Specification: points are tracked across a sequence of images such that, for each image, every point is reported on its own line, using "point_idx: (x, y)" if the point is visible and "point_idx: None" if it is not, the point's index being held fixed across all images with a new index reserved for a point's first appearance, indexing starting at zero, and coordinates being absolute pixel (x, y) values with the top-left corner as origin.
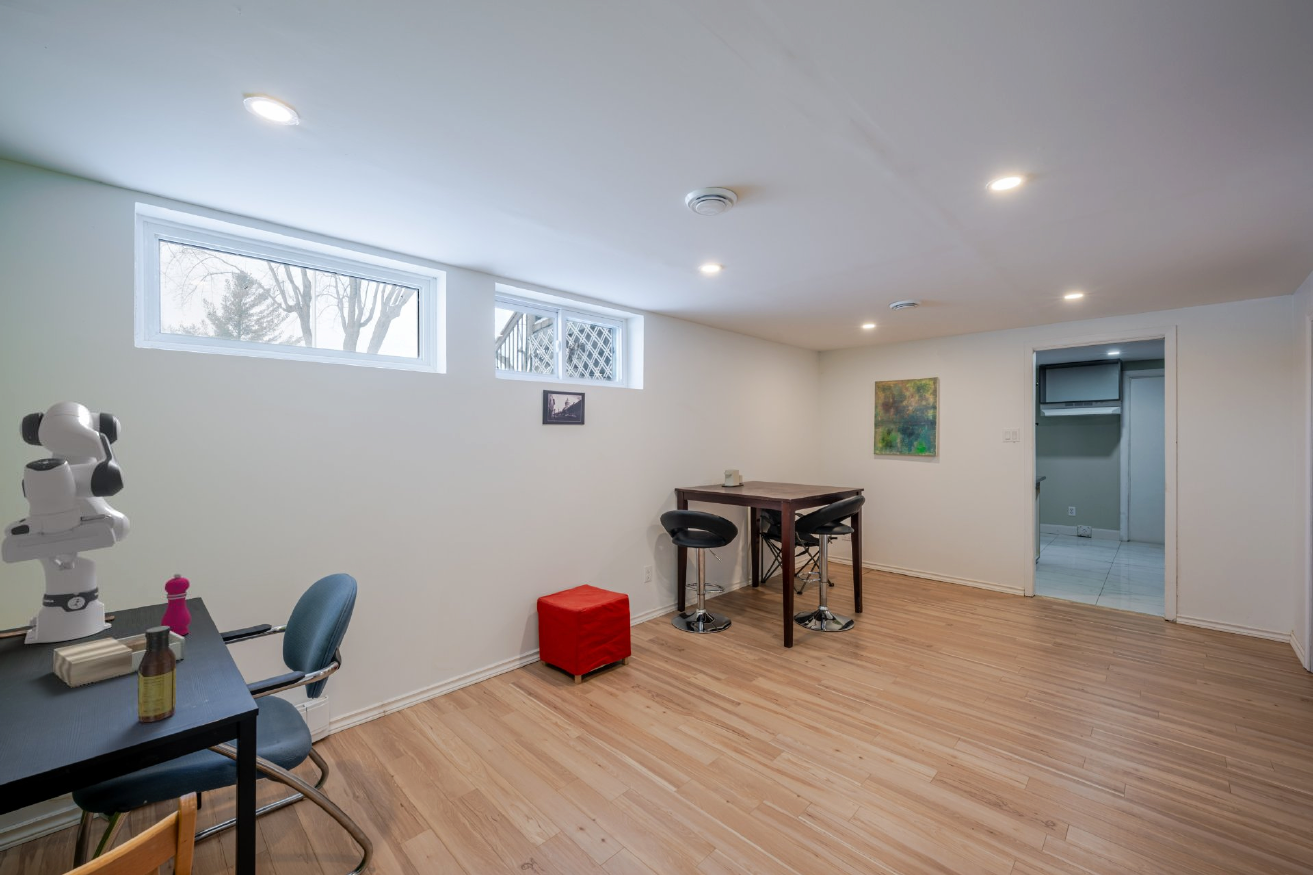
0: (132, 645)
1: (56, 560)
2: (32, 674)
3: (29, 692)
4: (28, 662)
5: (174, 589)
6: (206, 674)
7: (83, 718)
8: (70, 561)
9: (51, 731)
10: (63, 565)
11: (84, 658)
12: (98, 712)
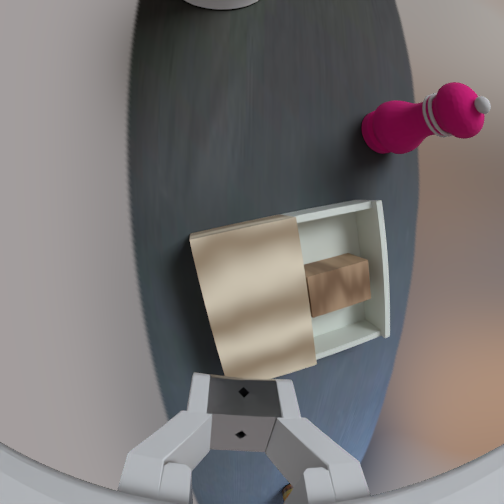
0: (322, 314)
1: (183, 463)
2: (159, 220)
3: (169, 341)
4: (151, 114)
5: (454, 135)
6: (363, 406)
7: (241, 467)
8: (278, 464)
9: (217, 479)
10: (230, 442)
11: (246, 369)
12: (253, 461)
